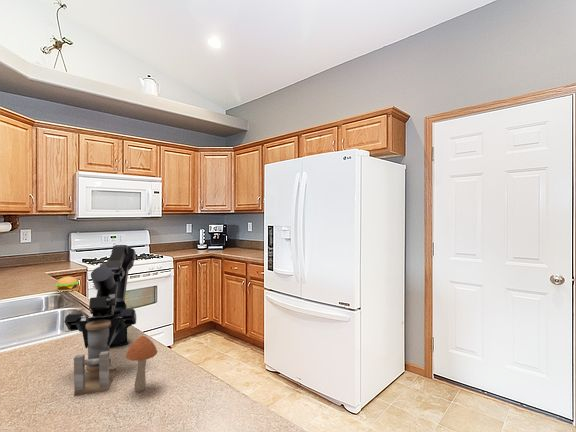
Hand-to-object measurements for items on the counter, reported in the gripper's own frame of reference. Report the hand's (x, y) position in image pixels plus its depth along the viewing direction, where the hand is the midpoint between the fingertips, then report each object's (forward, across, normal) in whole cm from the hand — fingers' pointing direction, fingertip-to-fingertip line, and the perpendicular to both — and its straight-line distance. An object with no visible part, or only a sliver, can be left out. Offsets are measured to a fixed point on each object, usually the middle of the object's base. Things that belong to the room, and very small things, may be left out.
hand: (97, 346), depth 95 cm
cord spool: (+4, 0, +6) cm, 7 cm away
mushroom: (+14, +13, 0) cm, 19 cm away
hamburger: (-82, -46, +96) cm, 135 cm away
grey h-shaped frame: (+8, 0, +6) cm, 10 cm away
